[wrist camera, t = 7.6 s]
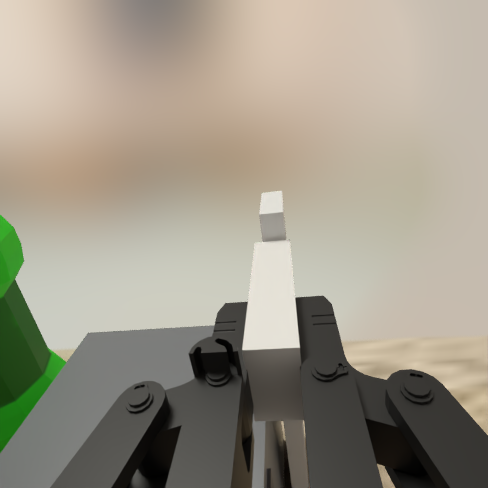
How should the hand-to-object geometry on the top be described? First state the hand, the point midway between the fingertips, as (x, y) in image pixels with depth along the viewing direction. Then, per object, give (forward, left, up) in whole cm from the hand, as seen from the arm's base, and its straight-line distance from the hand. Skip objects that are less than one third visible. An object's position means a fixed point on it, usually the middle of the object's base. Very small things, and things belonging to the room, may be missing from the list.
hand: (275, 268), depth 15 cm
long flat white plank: (0, +2, -16) cm, 16 cm away
